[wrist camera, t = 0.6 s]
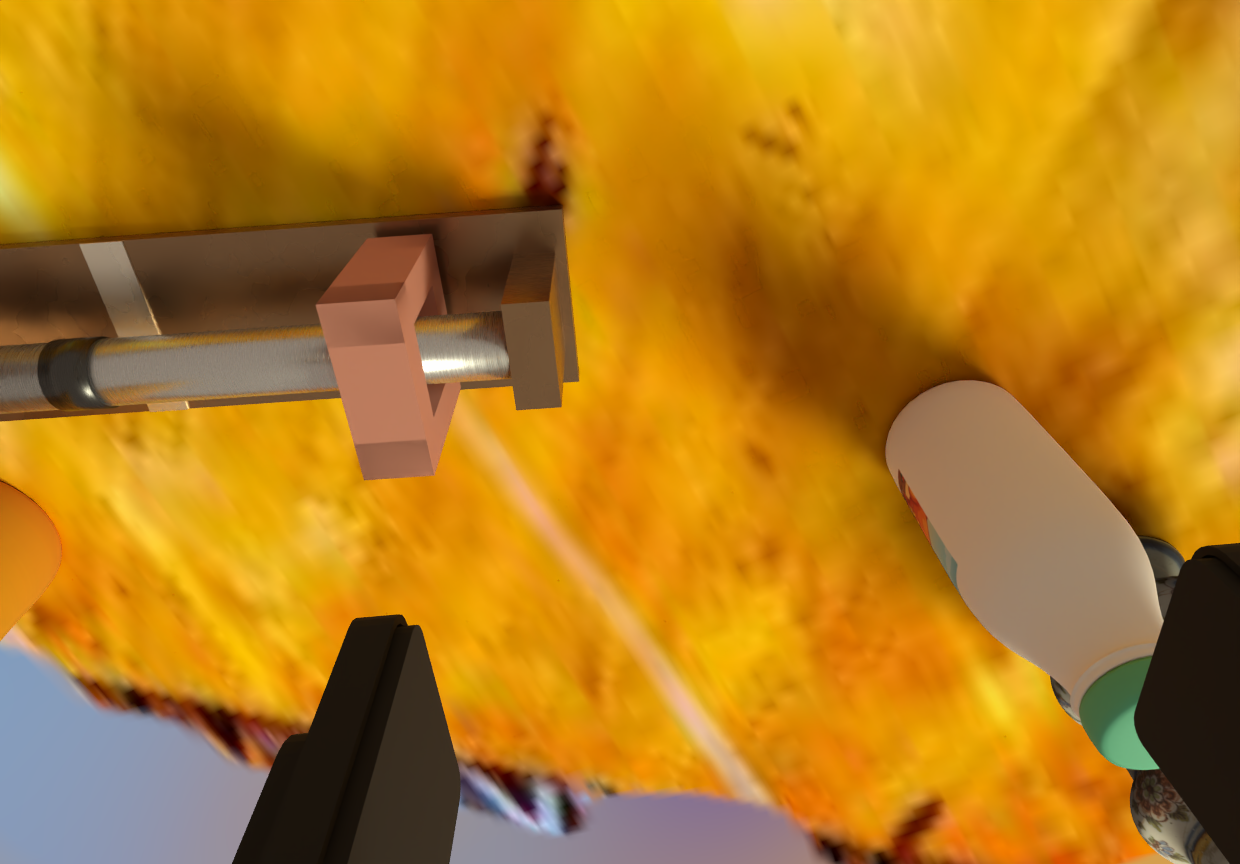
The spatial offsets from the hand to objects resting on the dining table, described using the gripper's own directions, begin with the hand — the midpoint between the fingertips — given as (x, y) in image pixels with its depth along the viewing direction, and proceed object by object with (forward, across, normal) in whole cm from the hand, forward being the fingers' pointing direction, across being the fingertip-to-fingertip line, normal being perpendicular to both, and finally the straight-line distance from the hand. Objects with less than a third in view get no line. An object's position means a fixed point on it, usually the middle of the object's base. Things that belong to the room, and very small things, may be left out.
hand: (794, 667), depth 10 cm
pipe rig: (+31, +20, +5) cm, 37 cm away
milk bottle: (+32, -16, +16) cm, 39 cm away
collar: (+30, +12, +5) cm, 32 cm away
